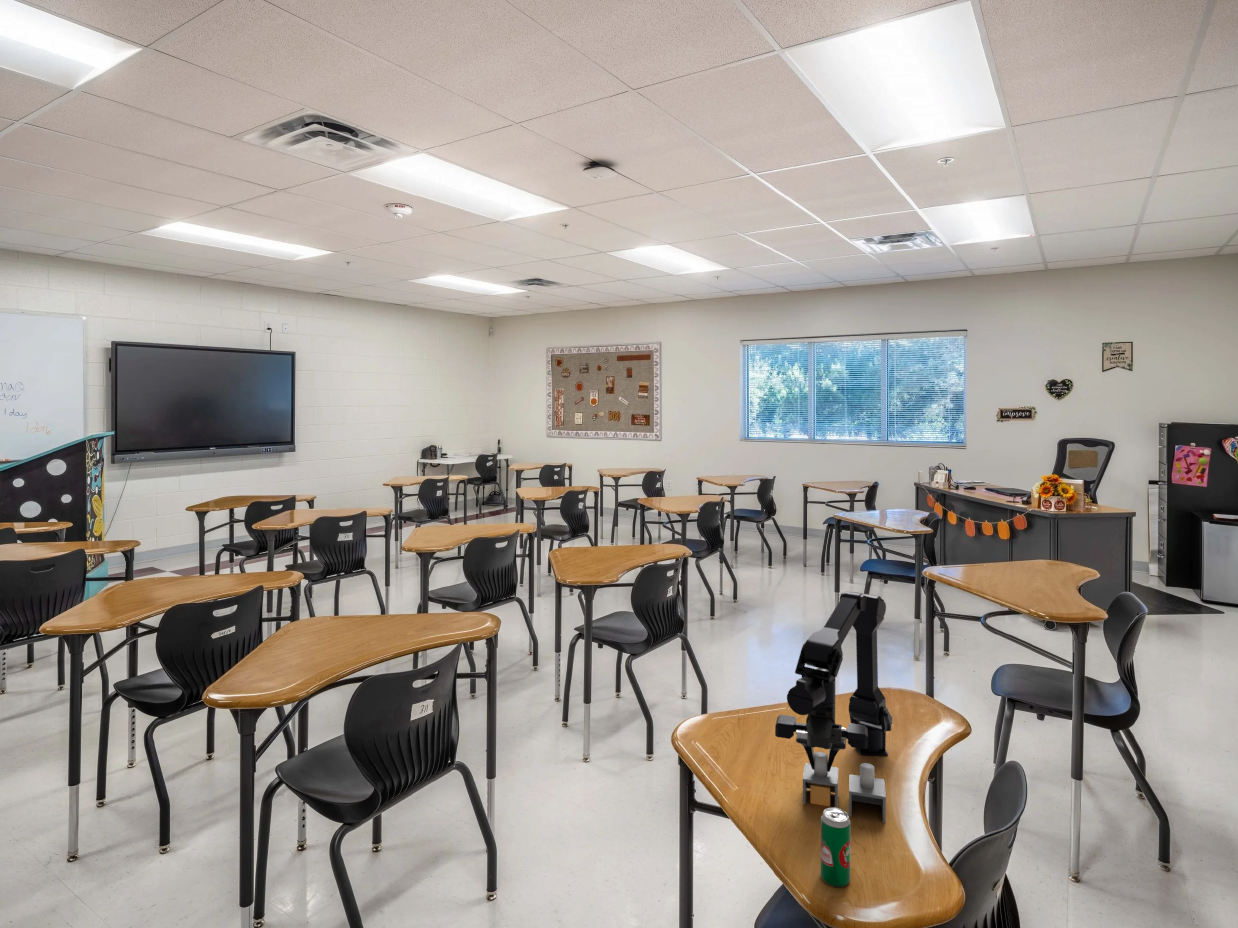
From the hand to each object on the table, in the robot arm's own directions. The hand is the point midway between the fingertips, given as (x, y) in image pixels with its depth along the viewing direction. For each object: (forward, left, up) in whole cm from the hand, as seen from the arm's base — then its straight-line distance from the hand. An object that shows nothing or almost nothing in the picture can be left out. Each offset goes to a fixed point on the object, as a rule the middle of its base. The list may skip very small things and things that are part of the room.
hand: (820, 769), depth 146 cm
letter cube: (0, 0, -7) cm, 7 cm away
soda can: (+4, +26, -7) cm, 27 cm away
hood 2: (-8, +4, -7) cm, 11 cm away
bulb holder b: (0, 0, -6) cm, 6 cm away
